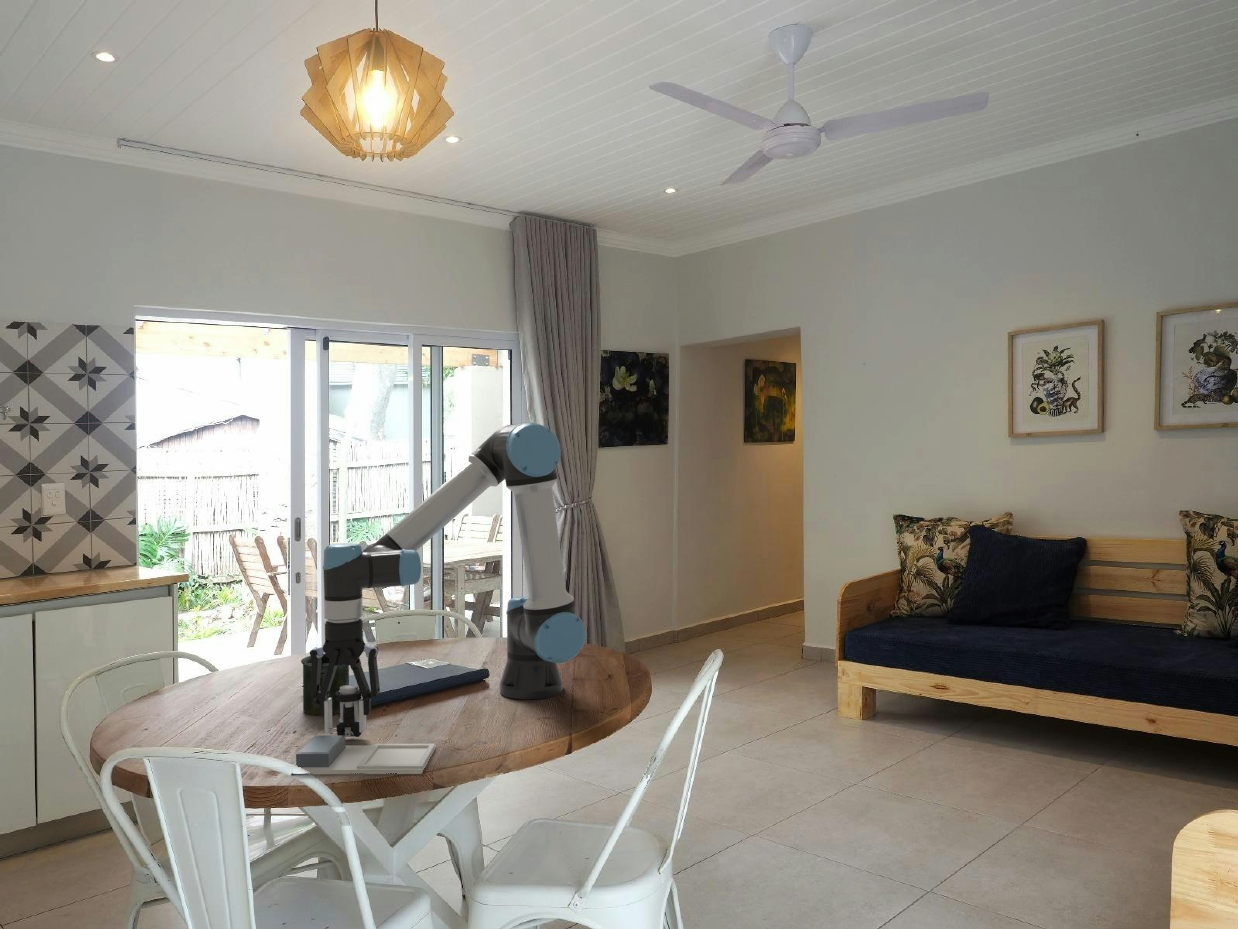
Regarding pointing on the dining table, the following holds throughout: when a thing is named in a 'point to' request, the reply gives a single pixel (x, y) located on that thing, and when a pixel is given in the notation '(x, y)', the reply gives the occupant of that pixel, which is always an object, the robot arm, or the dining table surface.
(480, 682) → the dining table surface
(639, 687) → the dining table surface
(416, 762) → the board
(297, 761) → the blue-grey rectangular block
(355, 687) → the push button
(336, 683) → the mug
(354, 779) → the dining table surface
